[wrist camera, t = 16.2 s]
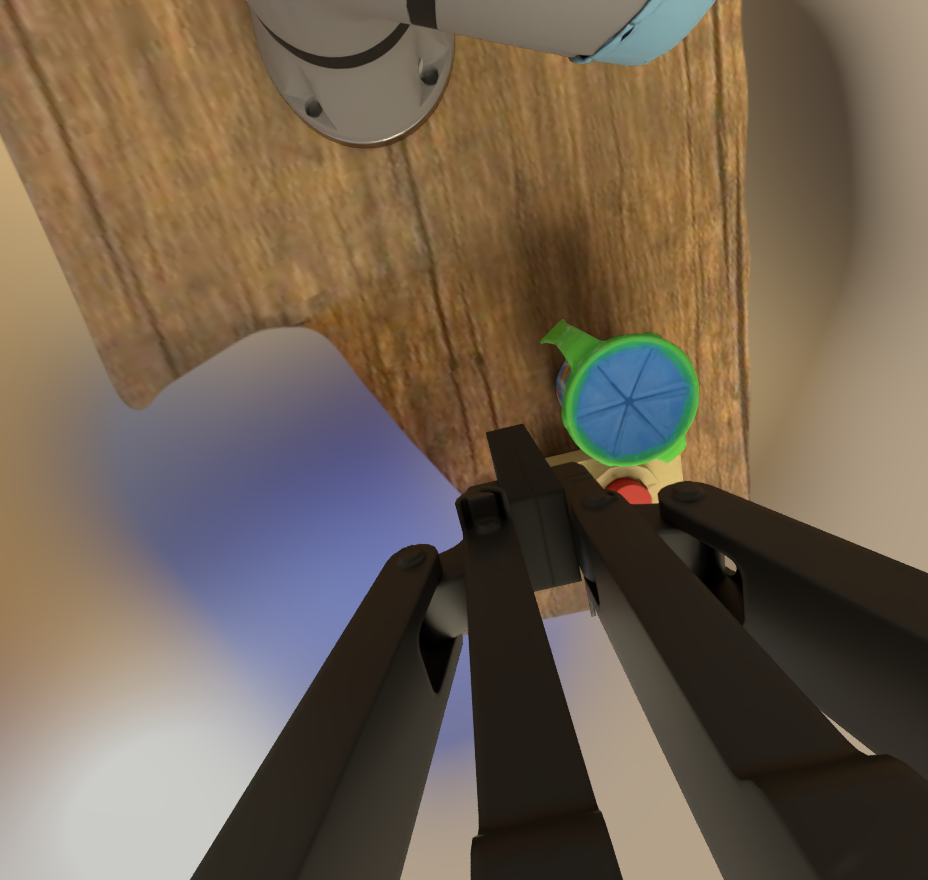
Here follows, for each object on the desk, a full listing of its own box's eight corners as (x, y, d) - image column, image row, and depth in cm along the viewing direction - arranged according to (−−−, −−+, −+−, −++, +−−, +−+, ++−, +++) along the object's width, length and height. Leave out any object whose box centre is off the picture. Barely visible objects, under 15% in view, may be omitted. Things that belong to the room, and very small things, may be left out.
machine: (553, 525, 48) (565, 549, 43) (540, 458, 45) (550, 476, 41) (671, 498, 47) (695, 520, 42) (663, 429, 45) (688, 444, 40)
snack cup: (678, 408, 44) (741, 436, 34) (593, 471, 46) (631, 514, 36) (591, 283, 41) (635, 274, 31) (502, 355, 42) (518, 369, 32)
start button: (605, 519, 42) (612, 528, 41) (599, 482, 41) (606, 490, 40) (646, 510, 42) (654, 518, 41) (641, 473, 41) (649, 480, 40)
